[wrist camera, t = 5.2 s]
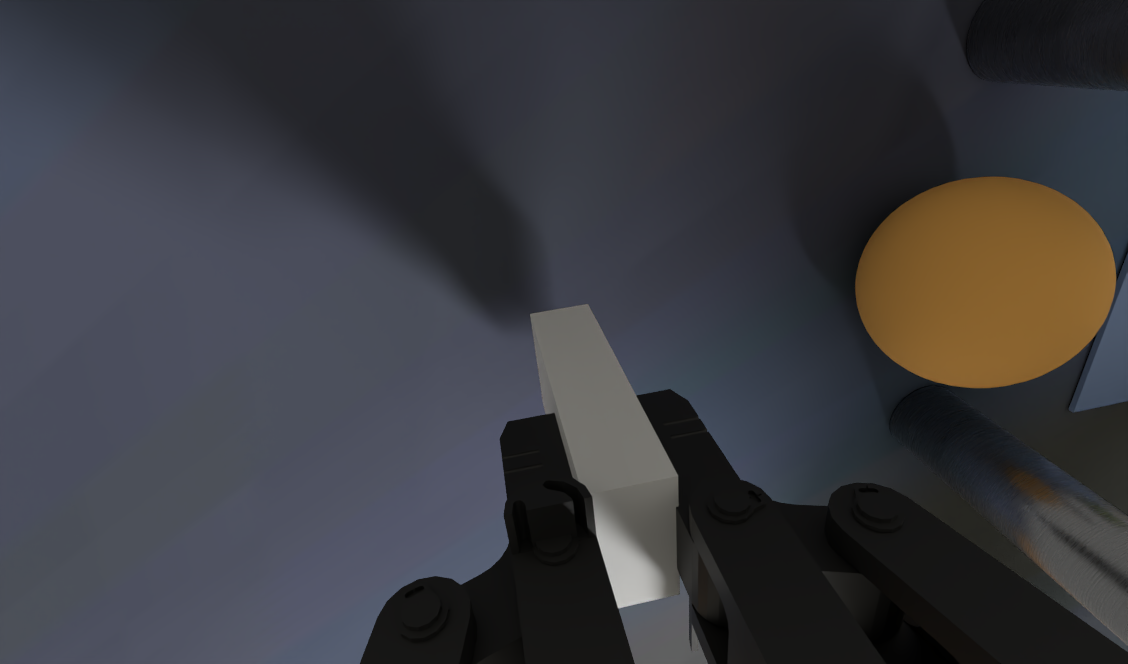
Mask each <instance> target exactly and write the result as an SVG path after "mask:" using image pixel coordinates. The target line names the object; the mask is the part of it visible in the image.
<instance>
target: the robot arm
mask: <svg viewBox="0 0 1128 664" xmlns="http://www.w3.org/2000/svg"><path fill="white" fill-rule="evenodd" d="M530 318H531V324H532V331H533V338H534V345H535V352H536V358H537V365H538V372H539V379H540V386H541V393H542V399H543V405H544V409H545V413H546V415H540V416H535V417H530V418H525V419H519V420H514V421H509V422H507V424H506V427H505V429H504V431H503V433H502V435H501V437H500V445H501V453H502V461H503V469H504V477H505V485H506V493H507V501H506V503H505V510H504V519H505V524H506V529H507V534H508V539H509V544H508V547H507V549H506V551H505V552H504V554H503V555H502V557H501V558H500V559H499V560H498V561H497V562H496V563H495V564H494V565H493V566H492V567H491V568H490V569H488V570H487V571H485V572H484V573H482V574H481V575H479V576H477V577H475V578H473V579H471V580H469V581H467V582H466V583H464V584H462V585H460V584H458V583H457V582H455V581H454V580H452V579H449V578H443V577H437V576H434V577H429V578H423V579H418V580H416V581H414V582H412V583H410V584H408V585H406V586H404V587H402V588H401V589H400V590H399V591H398V592H397V593H395V594H394V595H393V596H392V597H391V598H390V599H389V600H388V601H387V602H386V604H385V606H384V607H383V609H382V611H381V612H380V614H379V616H378V617H377V620H376V623H375V625H374V628H373V631H372V633H371V636H370V638H369V641H368V644H367V646H366V649H365V652H364V654H363V657H362V659H361V662H360V664H635V663H634V660H633V657H632V653H631V650H630V647H629V643H628V640H627V637H626V633H625V630H624V626H623V623H622V620H621V616H620V613H619V610H618V608H622V607H626V606H630V605H635V604H639V603H643V602H648V601H652V600H656V599H661V598H665V597H669V596H674V595H678V594H680V576H681V579H682V581H683V583H684V586H685V588H686V590H687V593H688V595H689V640H690V646H691V651H692V652H694V651H698V640H699V642H700V645H701V647H702V650H703V652H704V655H705V657H706V659H707V662H708V664H1128V652H1127V651H1125V650H1124V649H1122V648H1121V647H1119V646H1118V645H1117V644H1115V643H1114V642H1112V641H1111V640H1109V639H1108V638H1107V637H1105V636H1104V635H1102V634H1101V633H1100V632H1098V631H1097V630H1095V629H1094V628H1092V627H1091V626H1090V625H1088V624H1087V623H1085V622H1084V621H1082V620H1081V619H1080V618H1078V617H1077V616H1075V615H1074V614H1073V613H1071V612H1070V611H1068V610H1067V609H1065V608H1064V607H1063V606H1061V605H1060V604H1058V603H1057V602H1055V601H1054V600H1053V599H1051V598H1050V597H1048V596H1047V595H1046V594H1044V593H1043V592H1041V591H1040V590H1038V589H1037V588H1036V587H1034V586H1033V585H1031V584H1030V583H1029V582H1027V581H1026V580H1024V579H1023V578H1021V577H1020V576H1019V575H1017V574H1016V573H1014V572H1013V571H1011V570H1010V569H1009V568H1007V567H1006V566H1004V565H1003V564H1002V563H1000V562H999V561H997V560H996V559H994V558H993V557H992V556H990V555H989V554H987V553H986V552H984V551H983V550H982V549H980V548H979V547H977V546H976V545H975V544H973V543H972V542H970V541H969V540H967V539H966V538H965V537H963V536H962V535H960V534H959V533H957V532H956V531H955V530H953V529H952V528H950V527H949V526H948V525H946V524H945V523H943V522H942V521H940V520H939V519H938V518H936V517H935V516H933V515H932V514H931V513H929V512H928V511H926V510H925V509H923V508H922V507H921V506H919V505H918V504H916V503H915V502H913V501H912V500H911V499H909V498H908V497H906V496H904V495H902V494H900V493H898V492H897V491H895V490H893V489H891V488H887V487H884V486H880V485H876V484H872V483H853V484H849V485H845V486H841V487H840V488H839V489H837V490H836V491H835V492H834V493H832V494H831V497H830V501H829V504H828V506H811V505H793V504H785V503H779V502H776V501H772V499H771V498H770V497H769V496H768V495H767V494H766V493H765V492H764V491H763V490H762V489H761V488H759V487H757V486H755V485H753V484H751V483H749V482H747V481H743V480H740V478H739V477H738V475H737V474H736V472H735V471H734V469H733V468H732V466H731V465H730V463H729V462H728V460H727V459H726V457H725V456H724V454H723V453H722V451H721V450H720V448H719V447H718V445H717V444H716V442H715V441H714V439H713V438H712V436H711V435H710V433H709V432H707V429H706V427H705V426H704V424H703V423H702V421H701V420H700V419H699V418H698V415H697V413H696V412H695V410H694V409H693V407H692V406H691V404H690V403H689V401H688V400H686V399H685V398H683V397H681V396H680V395H678V394H677V393H675V392H674V391H672V390H670V389H668V390H663V391H658V392H653V393H647V394H642V395H637V396H636V394H635V393H634V391H633V389H632V387H631V385H630V383H629V381H628V379H627V377H626V375H625V374H624V372H623V370H622V368H621V366H620V364H619V362H618V360H617V358H616V356H615V354H614V353H613V351H612V349H611V347H610V345H609V343H608V341H607V339H606V337H605V335H604V333H603V332H602V330H601V328H600V326H599V324H598V322H597V320H596V318H595V316H594V314H593V313H592V311H591V309H590V307H589V305H588V304H585V305H579V306H573V307H567V308H561V309H555V310H549V311H544V312H538V313H532V314H530ZM679 574H680V575H679Z"/></svg>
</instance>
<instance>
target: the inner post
mask: <svg viewBox="0 0 1128 664" xmlns="http://www.w3.org/2000/svg"><path fill="white" fill-rule="evenodd" d="M890 432H891V434H892V436H893V437H894V438H895V439H896V440H897V441H899V442H900V443H901V444H902V445H903V446H904V447H905V448H906V449H908V450H909V451H910V452H911V453H912V454H913V455H914V456H915V457H916V458H918V459H919V460H920V461H921V462H922V463H923V464H924V465H925V466H927V467H928V468H929V469H930V470H931V471H932V472H933V473H934V474H936V475H937V476H938V477H939V478H940V479H941V480H942V481H943V482H945V483H946V484H947V485H948V486H949V487H950V488H951V489H952V490H954V491H955V492H956V493H957V494H958V495H959V496H960V497H961V498H963V499H964V500H965V501H966V502H967V503H968V504H969V505H970V506H971V507H973V508H974V509H975V510H976V511H977V512H978V513H979V514H980V515H982V516H983V517H984V518H985V519H986V520H987V521H988V522H989V523H991V524H992V525H993V526H994V527H995V528H996V529H997V530H998V531H1000V532H1001V533H1002V534H1003V535H1004V536H1005V537H1006V538H1007V539H1009V540H1010V541H1011V542H1012V543H1013V544H1014V545H1015V546H1016V547H1017V548H1019V549H1020V550H1021V551H1022V552H1023V553H1024V554H1025V555H1026V556H1028V557H1029V558H1030V559H1031V560H1032V561H1033V562H1034V563H1035V564H1037V565H1038V566H1039V567H1040V568H1041V569H1042V570H1043V571H1044V572H1046V573H1047V574H1048V575H1049V576H1050V577H1051V578H1052V579H1053V580H1055V581H1056V582H1057V583H1058V584H1059V585H1060V586H1061V587H1062V588H1064V589H1065V590H1066V591H1067V592H1068V593H1069V594H1070V595H1071V596H1072V597H1074V598H1075V599H1076V600H1077V601H1078V602H1079V603H1080V604H1081V605H1083V606H1084V607H1085V608H1086V609H1087V610H1088V611H1089V612H1090V613H1092V614H1093V615H1094V616H1095V617H1096V618H1097V619H1098V620H1099V621H1101V622H1102V623H1103V624H1104V625H1105V626H1106V627H1107V628H1108V629H1110V630H1111V631H1112V632H1113V633H1114V634H1115V635H1116V636H1117V637H1119V638H1120V639H1121V640H1122V641H1123V642H1124V643H1125V644H1126V645H1127V646H1128V515H1127V514H1125V513H1124V512H1122V511H1121V510H1119V509H1118V508H1117V507H1115V506H1114V505H1112V504H1111V503H1109V502H1108V501H1107V500H1105V499H1104V498H1102V497H1101V496H1099V495H1098V494H1097V493H1095V492H1094V491H1092V490H1091V489H1089V488H1088V487H1086V486H1085V485H1084V484H1082V483H1081V482H1079V481H1078V480H1076V479H1075V478H1074V477H1072V476H1071V475H1069V474H1068V473H1066V472H1065V471H1064V470H1062V469H1061V468H1059V467H1058V466H1056V465H1055V464H1054V463H1052V462H1051V461H1049V460H1048V459H1046V458H1045V457H1044V456H1042V455H1041V454H1039V453H1038V452H1036V451H1035V450H1034V449H1032V448H1031V447H1029V446H1028V445H1026V444H1025V443H1023V442H1022V441H1021V440H1019V439H1018V438H1016V437H1015V436H1013V435H1012V434H1011V433H1009V432H1008V431H1006V430H1005V429H1003V428H1002V427H1001V426H999V425H998V424H996V423H995V422H993V421H992V420H991V419H989V418H988V417H986V416H985V415H983V414H982V413H981V412H979V411H978V410H976V409H975V408H973V407H972V406H970V405H969V404H968V403H966V402H965V401H963V400H962V399H960V398H959V397H958V396H956V395H955V394H953V393H952V392H950V391H949V390H948V389H946V388H944V387H941V386H927V387H924V388H921V389H919V390H916V391H915V392H913V393H911V394H910V395H908V396H907V397H906V398H905V399H904V400H903V401H902V402H901V403H900V404H899V405H898V406H897V408H896V409H895V411H894V412H893V414H892V417H891V420H890Z"/></svg>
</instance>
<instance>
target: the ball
mask: <svg viewBox="0 0 1128 664" xmlns="http://www.w3.org/2000/svg"><path fill="white" fill-rule="evenodd" d="M1115 287H1116V269H1115V262H1114V257H1113V252H1112V249H1111V247H1110V244H1109V242H1108V240H1107V238H1106V236H1105V234H1104V232H1103V231H1102V229H1101V228H1100V226H1099V225H1098V224H1097V222H1096V221H1095V220H1094V219H1093V218H1092V216H1091V215H1090V214H1089V213H1088V212H1087V211H1086V210H1085V209H1083V208H1082V207H1081V206H1080V205H1078V204H1077V203H1076V202H1075V201H1073V200H1072V199H1070V198H1068V197H1067V196H1065V195H1063V194H1062V193H1060V192H1058V191H1056V190H1054V189H1051V188H1049V187H1046V186H1044V185H1041V184H1038V183H1034V182H1030V181H1026V180H1022V179H1017V178H1009V177H977V178H968V179H962V180H957V181H953V182H948V183H945V184H942V185H939V186H936V187H933V188H931V189H929V190H927V191H925V192H923V193H921V194H919V195H917V196H915V197H913V198H912V199H910V200H909V201H907V202H905V203H904V204H902V205H901V206H900V207H898V208H897V209H896V210H895V211H893V212H892V213H891V214H890V215H889V216H888V217H887V218H886V219H885V220H884V221H883V222H882V223H881V224H880V225H879V227H878V228H877V229H876V231H875V232H874V233H873V234H872V236H871V238H870V239H869V241H868V243H867V245H866V246H865V248H864V251H863V253H862V256H861V258H860V261H859V264H858V269H857V274H856V281H855V293H856V301H857V307H858V310H859V314H860V317H861V320H862V322H863V324H864V326H865V328H866V330H867V332H868V333H869V335H870V336H871V338H872V339H873V341H874V342H875V343H876V344H877V346H878V347H879V348H880V349H881V350H882V351H883V352H884V353H885V354H886V355H887V356H888V357H890V358H891V359H892V360H893V361H894V362H896V363H897V364H899V365H900V366H902V367H904V368H905V369H907V370H908V371H910V372H912V373H914V374H916V375H918V376H920V377H923V378H925V379H928V380H931V381H934V382H937V383H942V384H946V385H950V386H957V387H966V388H993V387H1002V386H1008V385H1012V384H1017V383H1021V382H1025V381H1028V380H1031V379H1034V378H1037V377H1039V376H1042V375H1044V374H1046V373H1048V372H1050V371H1052V370H1054V369H1056V368H1058V367H1059V366H1061V365H1063V364H1064V363H1066V362H1067V361H1068V360H1070V359H1071V358H1073V357H1074V356H1075V355H1077V354H1078V353H1079V352H1080V351H1081V350H1082V349H1083V348H1084V347H1085V346H1086V345H1087V344H1088V343H1089V342H1090V341H1091V340H1092V339H1093V337H1094V336H1095V335H1096V333H1097V332H1098V330H1099V329H1100V327H1101V326H1102V325H1103V323H1104V321H1105V319H1106V317H1107V315H1108V313H1109V310H1110V307H1111V304H1112V301H1113V298H1114V293H1115Z"/></svg>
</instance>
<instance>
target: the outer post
mask: <svg viewBox="0 0 1128 664" xmlns="http://www.w3.org/2000/svg"><path fill="white" fill-rule="evenodd" d="M967 57H968V62H969V64H970V67H971V69H972V70H973V72H974V73H975V74H976V75H977V76H978V77H980V78H981V79H983V80H986V81H991V82H1004V83H1017V84H1031V85H1045V86H1059V87H1073V88H1087V89H1100V90H1114V91H1128V0H984V1H983V3H982V4H981V6H980V7H979V9H978V11H977V13H976V14H975V16H974V19H973V21H972V23H971V26H970V29H969V33H968V38H967Z"/></svg>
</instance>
